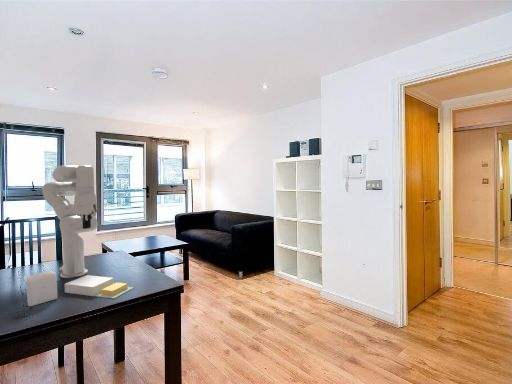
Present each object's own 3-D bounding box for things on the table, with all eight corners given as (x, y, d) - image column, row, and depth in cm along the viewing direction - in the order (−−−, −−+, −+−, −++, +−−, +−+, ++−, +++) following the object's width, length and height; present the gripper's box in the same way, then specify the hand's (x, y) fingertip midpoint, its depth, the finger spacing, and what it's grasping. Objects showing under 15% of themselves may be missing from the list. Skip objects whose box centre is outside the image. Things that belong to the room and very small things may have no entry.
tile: (112, 290, 124) (112, 295, 124) (127, 283, 133) (127, 287, 133) (101, 289, 126) (101, 294, 126) (116, 282, 134) (116, 286, 134)
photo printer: (28, 307, 114) (27, 277, 114) (26, 304, 117) (24, 274, 116) (59, 299, 122) (57, 270, 121) (55, 296, 125) (54, 268, 124)
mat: (94, 296, 125) (93, 295, 125) (114, 286, 136) (114, 285, 136) (114, 298, 122) (114, 297, 122) (133, 288, 133) (133, 287, 133)
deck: (64, 292, 129) (64, 283, 129) (87, 283, 141) (86, 275, 140) (93, 296, 125) (93, 287, 124) (114, 286, 136) (113, 277, 136)
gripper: (66, 191, 138) (68, 228, 139) (91, 191, 134) (92, 230, 135) (80, 190, 145) (81, 226, 146) (104, 190, 141) (105, 227, 142)
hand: (86, 228), depth 140 cm, fingers closed
